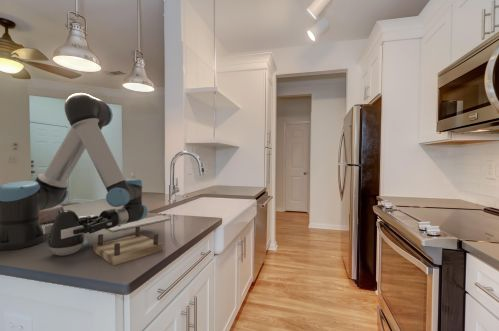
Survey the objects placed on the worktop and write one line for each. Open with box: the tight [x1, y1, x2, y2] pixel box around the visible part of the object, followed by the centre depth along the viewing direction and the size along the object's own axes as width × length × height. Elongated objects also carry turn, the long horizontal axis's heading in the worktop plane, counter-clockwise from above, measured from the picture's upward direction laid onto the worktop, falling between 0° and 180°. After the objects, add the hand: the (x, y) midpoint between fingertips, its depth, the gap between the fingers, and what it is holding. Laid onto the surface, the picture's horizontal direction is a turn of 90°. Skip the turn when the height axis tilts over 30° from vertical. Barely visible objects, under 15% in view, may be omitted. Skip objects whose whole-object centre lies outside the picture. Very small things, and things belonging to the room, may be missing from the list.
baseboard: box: [105, 213, 172, 233], centre depth 127 cm, size 31×3×12 cm
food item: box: [39, 204, 65, 225], centre depth 125 cm, size 14×8×10 cm, turn 152°
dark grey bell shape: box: [47, 209, 85, 257], centre depth 87 cm, size 10×10×15 cm
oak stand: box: [92, 226, 163, 266], centre depth 90 cm, size 17×17×6 cm
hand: (52, 232), depth 83 cm, fingers open, 9 cm apart
